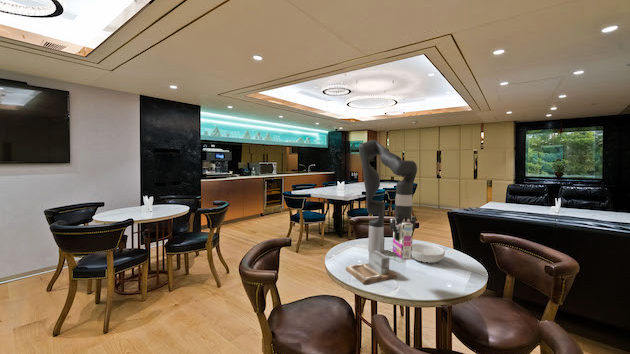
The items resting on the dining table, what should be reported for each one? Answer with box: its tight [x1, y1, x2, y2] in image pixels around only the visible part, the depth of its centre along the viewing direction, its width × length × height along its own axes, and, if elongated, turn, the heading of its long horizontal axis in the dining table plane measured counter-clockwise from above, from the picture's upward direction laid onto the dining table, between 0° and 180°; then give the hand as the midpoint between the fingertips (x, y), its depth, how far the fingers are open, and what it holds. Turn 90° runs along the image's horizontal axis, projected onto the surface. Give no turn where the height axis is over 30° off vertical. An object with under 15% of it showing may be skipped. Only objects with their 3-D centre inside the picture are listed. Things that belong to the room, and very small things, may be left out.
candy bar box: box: [392, 221, 414, 261], centre depth 122 cm, size 11×5×16 cm, turn 5°
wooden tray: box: [345, 251, 398, 285], centre depth 137 cm, size 20×17×10 cm
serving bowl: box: [412, 243, 446, 264], centre depth 157 cm, size 21×21×7 cm
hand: (402, 239), depth 122 cm, fingers closed on candy bar box, 6 cm apart
